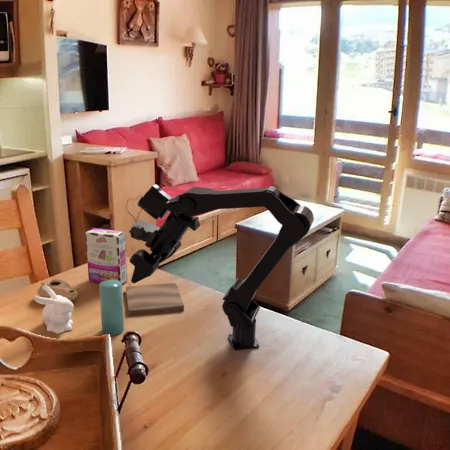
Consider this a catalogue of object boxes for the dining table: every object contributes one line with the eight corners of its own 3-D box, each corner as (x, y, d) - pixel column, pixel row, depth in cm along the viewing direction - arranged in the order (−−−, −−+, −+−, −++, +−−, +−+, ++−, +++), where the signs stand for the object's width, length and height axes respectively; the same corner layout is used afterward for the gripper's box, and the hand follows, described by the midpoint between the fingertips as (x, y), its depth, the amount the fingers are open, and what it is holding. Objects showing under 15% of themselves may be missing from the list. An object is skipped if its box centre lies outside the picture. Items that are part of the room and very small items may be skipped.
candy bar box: (128, 280, 160) (126, 231, 155) (120, 287, 156) (118, 236, 151) (96, 275, 164) (93, 226, 158) (87, 281, 159) (84, 231, 154)
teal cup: (124, 334, 130) (122, 288, 126) (102, 336, 129) (99, 290, 125) (123, 323, 135) (121, 278, 131) (101, 326, 134) (99, 280, 130)
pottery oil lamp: (66, 309, 141) (51, 290, 138) (43, 310, 149) (29, 291, 146) (87, 288, 147) (73, 269, 144) (64, 290, 155) (51, 271, 152)
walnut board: (183, 310, 143) (183, 305, 143) (129, 315, 140) (128, 310, 139) (175, 287, 157) (175, 282, 156) (126, 291, 154) (125, 286, 153)
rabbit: (78, 333, 130) (74, 290, 127) (39, 341, 126) (34, 297, 123) (69, 312, 141) (66, 272, 137) (33, 319, 137) (28, 278, 133)
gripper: (161, 200, 134) (132, 242, 140) (128, 221, 117) (97, 269, 123) (195, 227, 133) (164, 268, 140) (166, 252, 116) (133, 298, 123)
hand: (140, 274), depth 131 cm, fingers open, 9 cm apart
